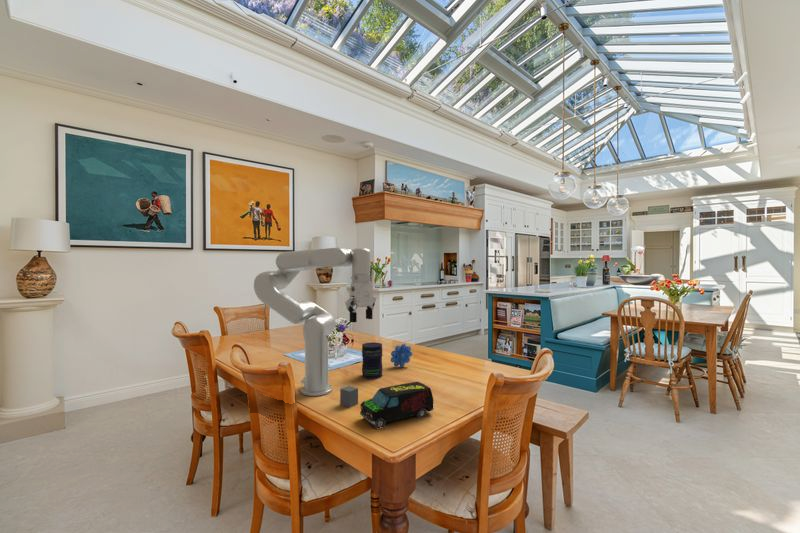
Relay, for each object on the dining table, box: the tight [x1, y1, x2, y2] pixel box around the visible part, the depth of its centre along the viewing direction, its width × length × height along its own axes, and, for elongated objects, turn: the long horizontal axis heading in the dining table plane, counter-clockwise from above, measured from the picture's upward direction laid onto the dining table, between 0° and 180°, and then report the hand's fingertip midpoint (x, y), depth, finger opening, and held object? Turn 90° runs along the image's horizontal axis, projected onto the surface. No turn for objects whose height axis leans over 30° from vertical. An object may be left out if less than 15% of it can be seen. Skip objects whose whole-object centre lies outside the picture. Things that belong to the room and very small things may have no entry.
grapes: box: [390, 343, 413, 367], centre depth 186 cm, size 12×7×12 cm, turn 100°
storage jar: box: [361, 341, 384, 380], centre depth 170 cm, size 10×10×15 cm
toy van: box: [359, 381, 435, 430], centre depth 124 cm, size 11×25×10 cm, turn 119°
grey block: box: [339, 385, 359, 408], centre depth 135 cm, size 5×4×6 cm
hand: (361, 320), depth 145 cm, fingers open, 9 cm apart
